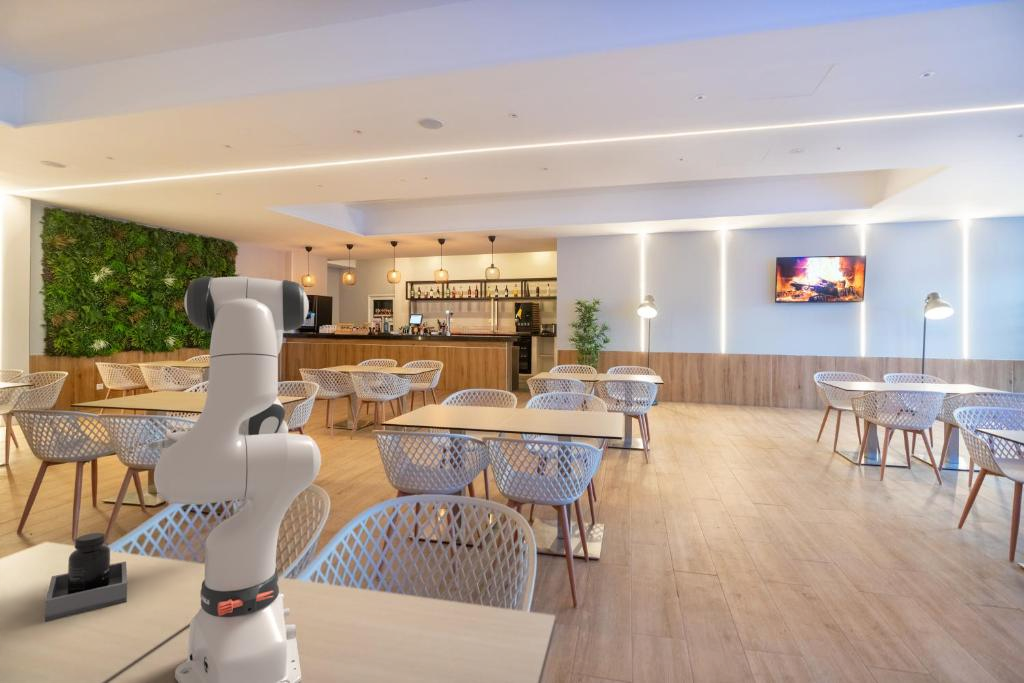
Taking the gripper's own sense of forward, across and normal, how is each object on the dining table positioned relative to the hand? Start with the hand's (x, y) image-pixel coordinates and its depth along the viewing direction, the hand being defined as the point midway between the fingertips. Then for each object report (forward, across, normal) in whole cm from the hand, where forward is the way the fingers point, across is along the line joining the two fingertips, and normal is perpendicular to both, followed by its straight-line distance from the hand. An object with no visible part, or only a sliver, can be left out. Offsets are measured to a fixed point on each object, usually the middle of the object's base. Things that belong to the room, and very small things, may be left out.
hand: (154, 449), depth 114 cm
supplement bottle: (+11, 0, +29) cm, 31 cm away
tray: (+11, 0, +30) cm, 32 cm away
